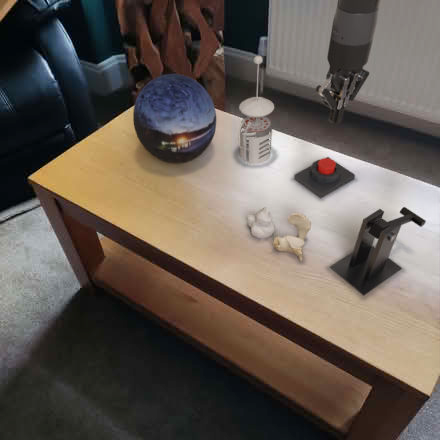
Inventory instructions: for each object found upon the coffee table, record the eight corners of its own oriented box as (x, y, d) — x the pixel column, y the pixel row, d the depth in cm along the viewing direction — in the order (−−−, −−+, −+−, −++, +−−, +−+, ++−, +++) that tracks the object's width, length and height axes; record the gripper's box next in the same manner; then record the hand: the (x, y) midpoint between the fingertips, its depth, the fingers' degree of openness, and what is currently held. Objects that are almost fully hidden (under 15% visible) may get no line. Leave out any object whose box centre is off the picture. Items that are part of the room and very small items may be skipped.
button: (325, 162, 103) (327, 155, 101) (338, 170, 101) (339, 164, 99) (313, 168, 101) (314, 162, 100) (325, 177, 99) (327, 170, 98)
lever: (401, 214, 86) (407, 204, 84) (422, 228, 83) (428, 217, 81) (361, 228, 78) (367, 217, 77) (383, 243, 76) (389, 232, 74)
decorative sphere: (233, 152, 112) (232, 75, 96) (177, 190, 104) (166, 113, 88) (181, 125, 121) (172, 50, 105) (126, 158, 112) (107, 81, 96)
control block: (326, 164, 108) (329, 150, 105) (353, 182, 103) (356, 168, 100) (293, 181, 104) (295, 168, 101) (320, 201, 100) (322, 187, 96)
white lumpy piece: (266, 246, 92) (268, 218, 85) (240, 234, 94) (240, 206, 88) (279, 231, 94) (282, 203, 88) (254, 220, 97) (255, 192, 90)
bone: (284, 269, 86) (278, 220, 82) (269, 261, 91) (263, 216, 88) (321, 258, 88) (316, 210, 84) (304, 251, 94) (299, 206, 90)
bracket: (366, 246, 91) (383, 195, 80) (400, 272, 86) (424, 221, 75) (328, 271, 87) (341, 221, 76) (362, 299, 83) (381, 250, 72)
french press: (281, 153, 111) (290, 52, 91) (257, 177, 106) (262, 75, 86) (248, 141, 115) (250, 41, 95) (224, 164, 109) (221, 63, 89)
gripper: (341, 52, 73) (325, 142, 87) (393, 30, 78) (369, 119, 92) (310, 37, 77) (299, 126, 91) (361, 17, 82) (343, 104, 95)
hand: (334, 122), depth 91 cm, fingers closed
